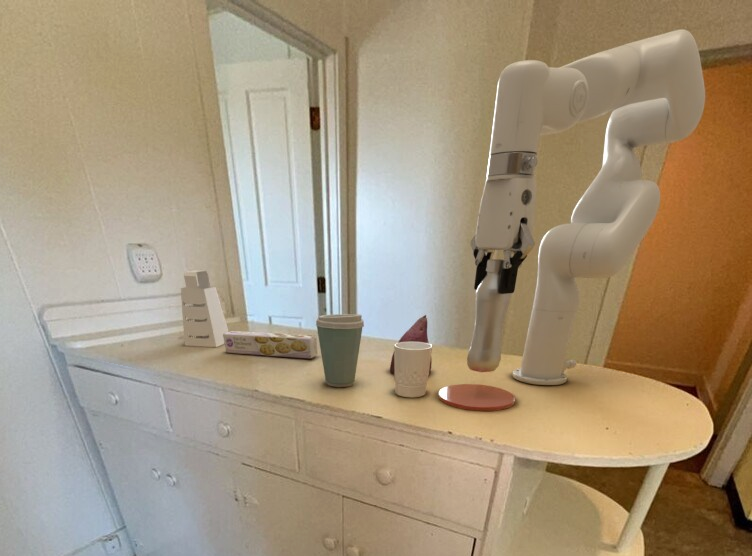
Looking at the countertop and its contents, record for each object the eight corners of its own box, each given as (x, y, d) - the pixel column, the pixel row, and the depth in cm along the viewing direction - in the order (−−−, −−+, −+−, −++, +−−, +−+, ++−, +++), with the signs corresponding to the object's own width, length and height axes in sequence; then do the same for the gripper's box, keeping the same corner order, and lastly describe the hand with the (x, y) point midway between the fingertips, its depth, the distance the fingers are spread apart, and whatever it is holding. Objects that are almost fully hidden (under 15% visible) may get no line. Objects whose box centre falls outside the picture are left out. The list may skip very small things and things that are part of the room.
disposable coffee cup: (308, 383, 99) (304, 313, 91) (341, 374, 106) (340, 308, 98) (340, 393, 93) (338, 318, 85) (373, 383, 100) (374, 313, 92)
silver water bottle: (461, 367, 91) (474, 259, 80) (492, 366, 91) (509, 258, 80) (470, 376, 85) (485, 261, 74) (503, 375, 86) (522, 260, 75)
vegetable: (426, 380, 114) (446, 321, 107) (427, 386, 104) (449, 322, 98) (389, 368, 113) (406, 308, 107) (386, 373, 104) (406, 308, 97)
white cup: (431, 390, 96) (435, 343, 90) (423, 400, 89) (427, 350, 84) (397, 386, 98) (400, 340, 92) (388, 396, 92) (389, 347, 86)
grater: (184, 345, 132) (169, 271, 121) (201, 339, 141) (188, 269, 130) (216, 347, 131) (203, 272, 120) (231, 340, 140) (220, 270, 129)
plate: (481, 384, 100) (482, 380, 100) (531, 404, 88) (532, 400, 88) (424, 392, 94) (424, 389, 94) (468, 415, 82) (469, 411, 82)
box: (225, 353, 124) (221, 332, 121) (235, 349, 128) (232, 329, 125) (311, 360, 118) (310, 338, 115) (318, 356, 122) (317, 335, 119)
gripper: (568, 164, 65) (542, 295, 75) (493, 176, 78) (480, 286, 88) (531, 162, 62) (509, 297, 72) (460, 174, 75) (450, 288, 85)
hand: (493, 290), depth 80 cm, fingers closed on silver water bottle, 6 cm apart
